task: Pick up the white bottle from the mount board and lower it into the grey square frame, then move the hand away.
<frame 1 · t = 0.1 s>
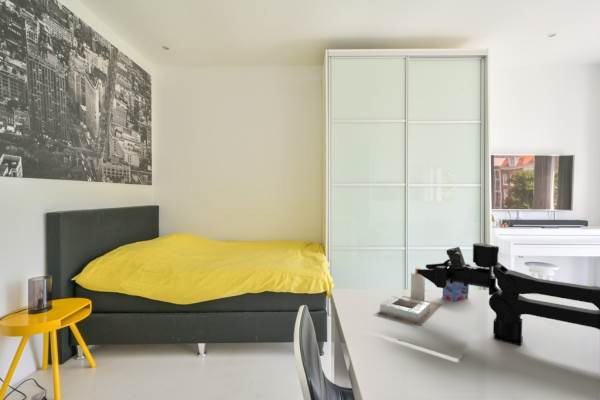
hand: (421, 268, 106), 17 cm above the table, tool horizontal, fingers open, 9 cm apart
grey square frame: (405, 312, 108), resting on mount board
white bottle: (417, 302, 118), point 1 cm above the table, touching mount board
mount board: (410, 311, 111), on the table
ink cartridge box: (455, 300, 124), on the table
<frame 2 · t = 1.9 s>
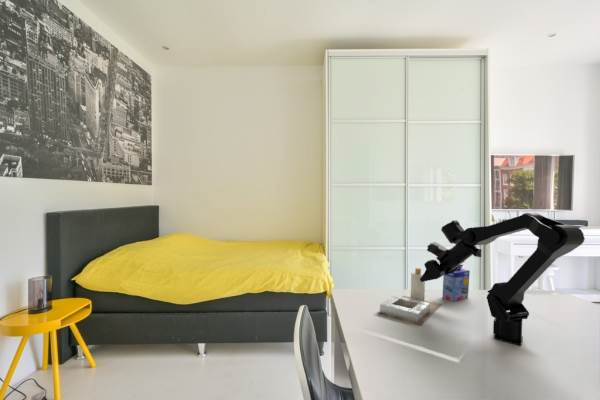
hand: (426, 278, 115), 11 cm above the table, tool tilted 45°, fingers open, 9 cm apart
nothing on the table moved.
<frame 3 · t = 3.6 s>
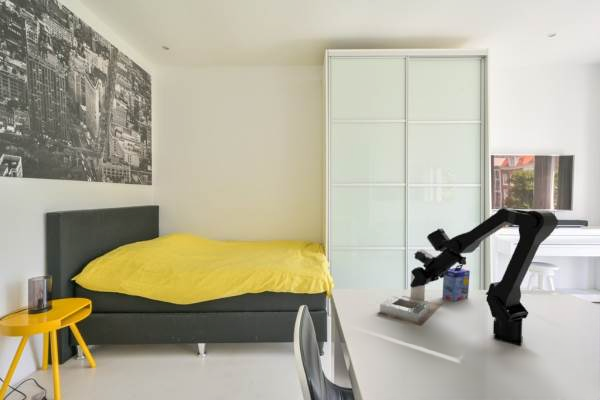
hand: (414, 285, 119), 7 cm above the table, tool tilted 45°, fingers closed on white bottle, 5 cm apart
white bottle: (417, 302, 118), point 1 cm above the table, touching gripper, mount board
everything else where it was.
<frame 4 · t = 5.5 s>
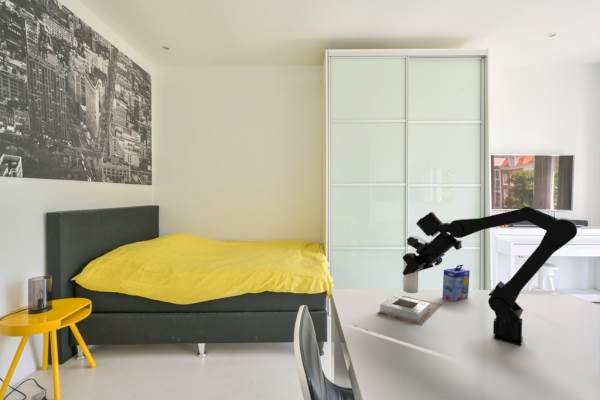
hand: (407, 272, 112), 13 cm above the table, tool tilted 45°, fingers closed on white bottle, 5 cm apart
white bottle: (410, 291, 112), point 7 cm above the table, touching gripper
everything else where it was.
when the fingers open (8 cm above the table, at t = 7.5 s): white bottle stays where it is, resting on mount board.
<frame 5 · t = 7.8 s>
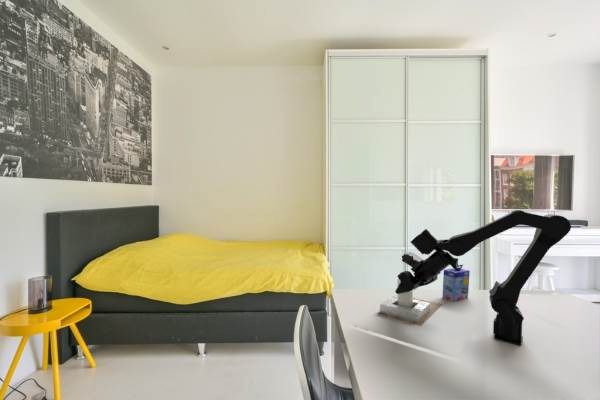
hand: (401, 290, 109), 8 cm above the table, tool tilted 45°, fingers open, 8 cm apart
white bottle: (405, 311, 108), point 1 cm above the table, touching mount board
everything else where it was.
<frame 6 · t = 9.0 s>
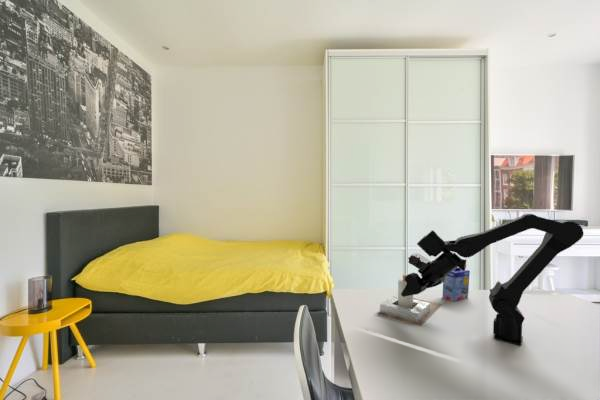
hand: (408, 292, 107), 8 cm above the table, tool tilted 45°, fingers open, 9 cm apart
nothing on the table moved.
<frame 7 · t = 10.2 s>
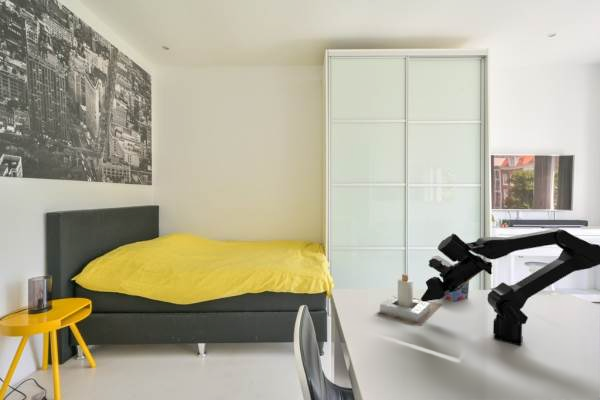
hand: (428, 297, 102), 8 cm above the table, tool tilted 45°, fingers open, 9 cm apart
nothing on the table moved.
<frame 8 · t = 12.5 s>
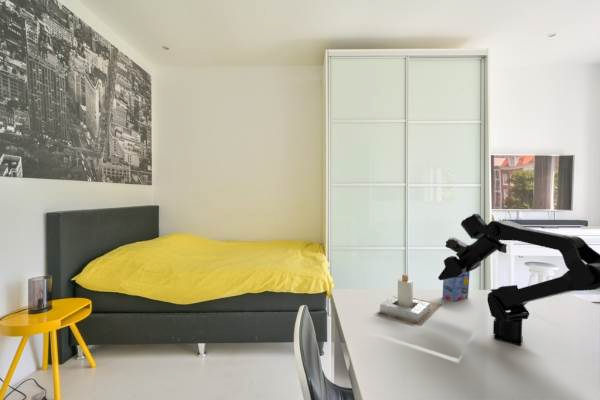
hand: (444, 276, 107), 14 cm above the table, tool tilted 45°, fingers open, 9 cm apart
nothing on the table moved.
at the end: white bottle 0.0 cm off-centre on the grey square frame, point 0.1 cm above the grey square frame's base; white bottle tilted 2°; the gripper is holding nothing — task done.
